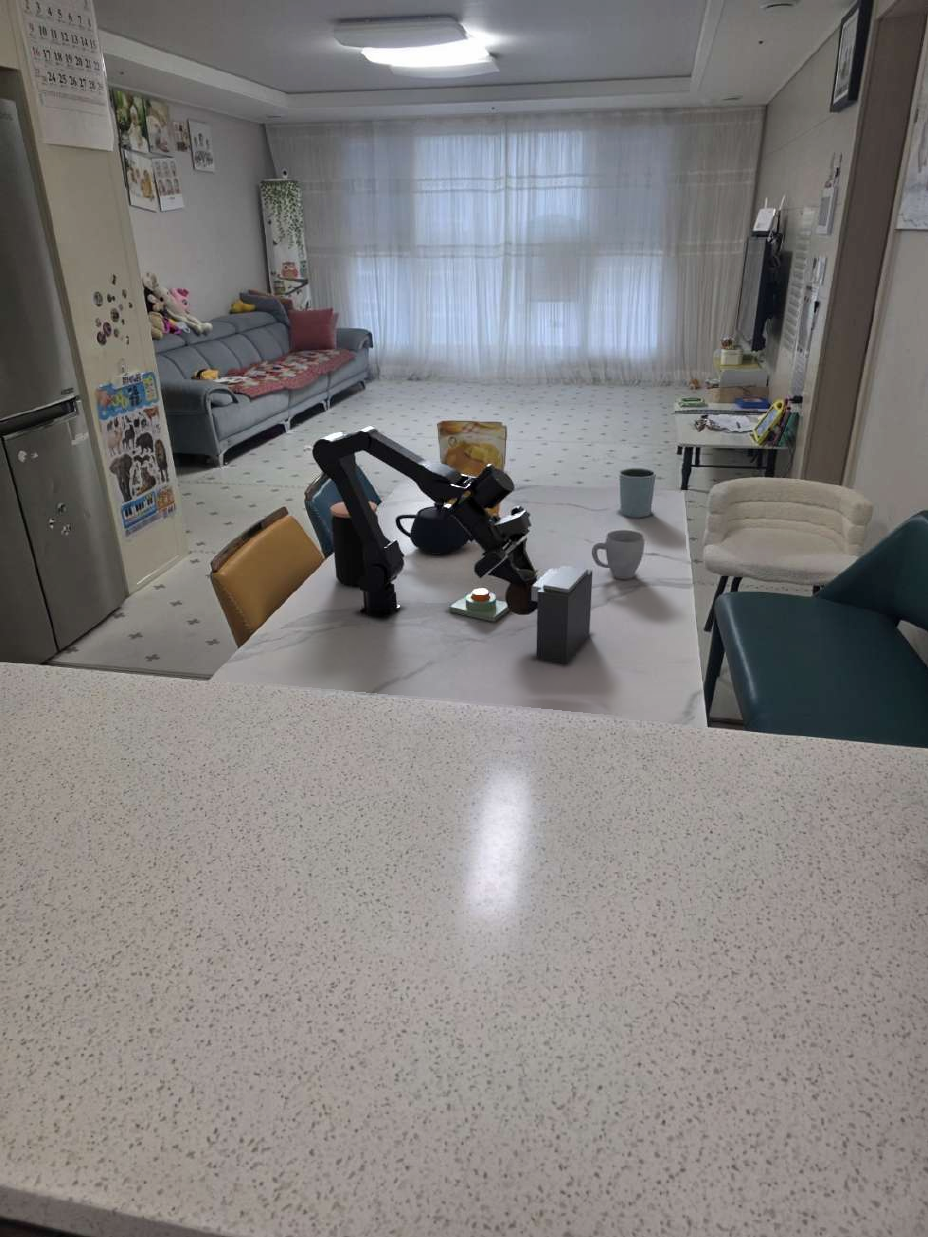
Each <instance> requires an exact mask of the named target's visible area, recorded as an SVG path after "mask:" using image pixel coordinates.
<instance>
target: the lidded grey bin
mask: <svg viewBox="0 0 928 1237" xmlns="http://www.w3.org/2000/svg"><path fill="white" fill-rule="evenodd" d="M592 590H593V570H592V569H590V570H589V569H588V568H585V567H584V568H583V567H576V566H571V565H562V566H561V567H560V568H554V567H553V568H552V567H550V568H549V569H548V570H547V571H545V573H544V574H542V575H541V576H540V577H539V578H538V579H537V582H536V583H534V584H533V585H532V601H538V604H537V609H536V610H537V611H536V612H537V614H536V618H537V619H536V654H535V655H536V659H537V660H542V661H546V662H547V661H548V662H551V663H557V664H561V665H567V664H568V662H569V661H571V659H572V658H573V656H574V655H575V654H576V652H577V651H578V650H579V649H580V648H581V646H582V645H583V644H584V643H585V641H586V639H588V637H589V636H590V630H591V612H592V610H591V608H592Z"/></svg>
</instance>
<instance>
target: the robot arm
mask: <svg viewBox="0 0 928 1237" xmlns="http://www.w3.org/2000/svg"><path fill="white" fill-rule="evenodd" d="M362 451H363V452H365V453H367V454H368V455H370V456H372V457H374V458H375V459H377V460H379V461H380V462H382V463H384V464H386V465H387V466H389V467H391V468H392V469H393V470H395V471H397V472H399V473H400V474H402V475H404V476H405V477H406V478H409V479H410V480H412V482H414V483H415V484H416V485H417V487H418V488H419V490H420V491H421V493H423V494H424V495H425V496H427V497H428V498H429V499H430V500H431V501H433V503H435V502H436V503H439V504H442V503H447V502H449V501H450V500H451V499H453V498H458V499H457V500H456V501H455V502H454V503H453V504H451V505H450V504H446V505H444V507H443V520H444V521H446V520H447V519H448V518H450V517H451V516H452V515H453V516H454V517H455V519H456V520H457V521H458V522H459V523H460V524H461V525H462V527H463V528H464V529H465V530H466V531H467V532H468V533H469V535H470V537H469V538H468V540H469V541H468V542H470V543H473V542H476V544H477V545H478V546H479V547H480V548H481V550H482V551H483V553H481V556H482V557H481V558H479V560H477V561H476V562H475V564H473V572H474V573H475V574H476V576H477V577H478V578H479V579H480V580H481V579H482V578H483V577H485V576H486V575H487V576H488V577H490V576H491V577H495V578H497V579H500V580H503V581H504V582H507V583H512V584H514V585H517V586H519V587H521V588H526V587H527V586H528V584H527V582H526V581H525V579H524V578H523V576H522V575H521V574H520V572H519V571H518V570H521V569H524V570H531V571H533V572H535V571H536V570H535V568H534V566H533V563H532V561H531V559H530V556H529V555H528V552H527V549H526V548H527V541H528V537H526V536H527V535H528V534H529V533H530V532H531V530H530V529H529V527H532V523H531V520H530V517H531V513H530V512H528V510H527V509H525V508H524V507H523V506H521V505H518V506H514V507H513V508H511V510H510V514H509V515H507V516H506V517H503V518H501V516H500V515H499V516H498V515H496V514H495V515H494V516H493V517H492V516H491V514H490V513H489V512H488V511H487V510H486V508H490V509H493V508H495V507H496V506H497V505H498V504H499V503H500V504H501V502H503V501H504V500H505V499H506V498H507V497H508V496H509V495H510V494H512V493H513V492H514V491H515V490H516V489H515V483H514V482H513V480H512V478H511V477H510V476H509V474H508V473H506V472H505V471H504V472H503V471H501V470H500V469H497V468H495V467H494V466H493V465H492V464H490V465H488V466H487V467H486V468H485V469H484V470H483V471H482V473H481V474H480V475H479V476H478V477H477V478H475V477H471V476H467V475H463V474H461V473H460V472H459V471H458V470H456V469H454V468H451V467H449V466H446V465H444V464H441V462H435V461H430V460H428V459H425V458H423V457H422V456H420V455H418V454H417V453H415V452H413V451H411V450H410V449H408V448H406V447H405V446H403V445H401V444H400V443H398V442H396V441H395V440H393V439H391V438H390V437H388V436H386V435H384V434H383V433H381V432H379V430H378V429H376V428H375V427H373V426H367V427H365V428H363V429H360V430H356V431H353V432H349V433H347V434H344V433H342V432H333V433H331V434H329V435H326V436H324V437H322V438H319V439H318V440H317V441H315V442H314V444H313V448H312V449H311V455H312V458H313V459H314V461H315V463H316V464H317V466H318V468H319V469H320V471H321V472H322V473H323V474H324V475H325V476H326V477H327V478H329V480H331V481H332V482H333V483H334V485H335V487H336V489H337V492H338V493H339V496H340V498H341V500H342V502H344V505H345V507H346V509H347V511H348V513H349V515H350V518H351V520H352V522H353V524H354V526H355V529H356V531H357V533H358V535H359V537H360V539H361V542H362V544H363V561H364V565H365V568H366V571H367V572H366V573H365V574H364V575H363V576H362V577H361V578H360V579H359V580H358V581H357V584H358V587H357V588H358V589H359V591H361V592H362V596H363V608H361V609H360V610H359V613H360V614H364V615H366V616H367V615H368V616H372V617H376V618H379V619H385V618H387V617H388V616H391V615H392V614H394V613H395V612H397V611H398V610H400V609H401V606H400V605H399V604H398V601H397V599H398V598H397V592H396V590H395V588H396V587H395V584H394V583H392V582H393V581H395V580H397V578H398V575H399V574H400V573H401V572H402V571H403V569H404V566H405V560H404V558H405V556H406V555H405V554H404V553H403V552H402V550H401V547H400V544H399V541H398V540H397V539H394V540H392V541H391V540H390V539H389V538H388V537H386V536H385V534H384V532H383V530H382V527H381V525H380V522H379V520H378V521H377V519H376V517H375V514H374V512H373V510H372V508H371V505H370V503H369V502H370V501H369V499H368V496H367V494H366V492H365V490H364V487H363V485H362V483H361V481H360V479H359V477H358V474H357V466H356V465H357V464H356V462H357V458H356V454H357V453H360V452H362ZM468 491H470V493H471V494H470V495H469V496H468V497H467V498H466V497H461V496H463V495H464V494H465V493H467V492H468ZM471 528H472V529H471ZM470 529H471V530H470ZM523 537H525V538H523ZM522 538H523V539H522Z"/></svg>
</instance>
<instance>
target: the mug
mask: <svg viewBox="0 0 928 1237" xmlns="http://www.w3.org/2000/svg"><path fill="white" fill-rule="evenodd" d="M645 541H646V540H645V536H644V534H642V533H640V532H639V531H634V530H627V529H619V530H614V531H609V532H608V533H607V534H606V536H605V541H597V542H595V543H594V544H593V546H592V548H591V556H592V559H593V560H594V563H595V564H596V565H597V566H598V567H601V568H605V569H609V570H610V574H611V576H612V577H613V578H616V579H621V580H629V579H632V578H634V577H635V574H636V572H637V570H638V569H639V567H640V565H641V561H642V558H643V554H644V549H645ZM598 550H605V555H606V561H607V563H604V562H602V561H601V560H600V559H599V556H598Z"/></svg>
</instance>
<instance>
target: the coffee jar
mask: <svg viewBox="0 0 928 1237" xmlns="http://www.w3.org/2000/svg"><path fill="white" fill-rule="evenodd" d="M369 503H370V505H371V508H372V510H373V512H374V514H375V517H376V519H377V521H378V522H379V516H378V514H377V513H376V512H378V511H377V510H378V505H377V504H376V503H375V502H373V501H369ZM330 513H331V515H332V516H331V518H330V522H331V534H332V544H333V555H334V565H335V577H336V579H337V581H338V582H339V583H340V585H342V586H344V587H348V588H359V587H358V584H357V581H358V580H359V579H360V578H361V577H362V576H363V575H364V574H365V573H366V572H367V571H366V568H365V565H364V561H363V544H362V542H361V539H360V537H359V535H358V533H357V531H356V529H355V526H354V524H353V522H352V520H351V518H350V515H349V513H348V511H347V509H346V507H345V505H344V502H343V501H341V502H340V501H339V502H337V503H334V504H333V505H331V506H330Z"/></svg>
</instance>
